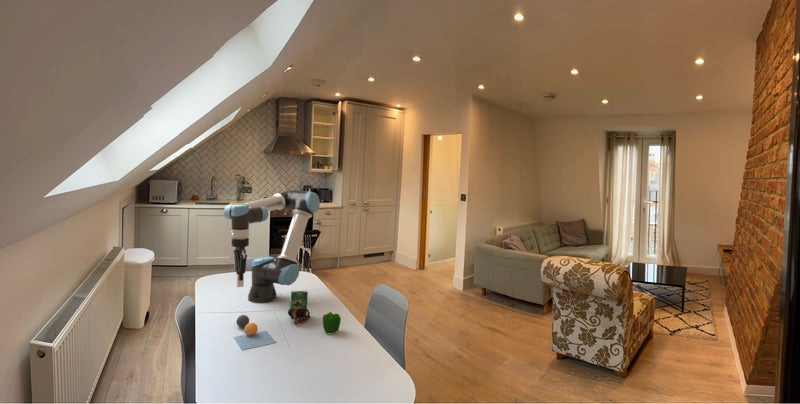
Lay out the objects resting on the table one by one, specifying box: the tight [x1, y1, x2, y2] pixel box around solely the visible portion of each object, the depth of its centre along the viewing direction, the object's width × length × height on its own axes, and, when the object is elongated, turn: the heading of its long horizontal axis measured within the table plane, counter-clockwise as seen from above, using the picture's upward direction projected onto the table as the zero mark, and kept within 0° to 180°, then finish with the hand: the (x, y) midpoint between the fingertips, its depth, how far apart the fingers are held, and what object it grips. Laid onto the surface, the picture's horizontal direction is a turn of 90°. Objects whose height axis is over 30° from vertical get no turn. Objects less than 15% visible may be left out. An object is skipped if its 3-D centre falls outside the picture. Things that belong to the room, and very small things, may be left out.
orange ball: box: [244, 322, 258, 336], centre depth 176 cm, size 6×6×6 cm
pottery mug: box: [287, 307, 311, 326], centre depth 193 cm, size 12×10×8 cm
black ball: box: [235, 314, 250, 328], centre depth 184 cm, size 6×6×6 cm
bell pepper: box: [322, 311, 342, 334], centre depth 183 cm, size 8×8×10 cm
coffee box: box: [289, 290, 309, 315], centre depth 199 cm, size 8×3×13 cm, turn 115°
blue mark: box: [233, 330, 277, 351], centre depth 171 cm, size 14×14×1 cm
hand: (240, 286), depth 189 cm, fingers closed
